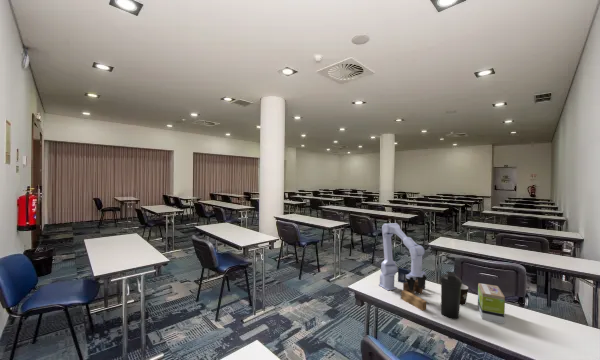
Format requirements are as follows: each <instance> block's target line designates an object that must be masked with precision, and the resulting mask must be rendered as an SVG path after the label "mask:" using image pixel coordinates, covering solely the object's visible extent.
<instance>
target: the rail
mask: <svg viewBox="0 0 600 360" xmlns="http://www.w3.org/2000/svg"><path fill="white" fill-rule="evenodd" d="M400 300H402V301H404V302H405V303H408V304H409V305H411V306H412V307H415V308H417V309H418V310H420V311H421V312H424V311H427V302H428V301H427V300H425V299H423V298H421V297H419V296H417V295H416V294H415V295H414V294H412V293H410V292H408V291H406V290H403V289H401V290H400Z"/></svg>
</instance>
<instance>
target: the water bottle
mask: <svg viewBox="0 0 600 360" xmlns="http://www.w3.org/2000/svg"><path fill="white" fill-rule="evenodd" d="M462 284H463V281H462V279H461V278H460V277H458V276H457V275H456V272H453V271H446V273H445V274H443V275H442V276H440V286H441V289H440V290H441V291H440V299H441V300H440V301H441V303H440V304H441V306H440V308H441V309H440V310H441V312H440V314H441V315H442V316H443V317H445V318H447V319H450V320H458V319H459V318H460V308H461V307H460V306H461V305H460V294H461V286H462Z"/></svg>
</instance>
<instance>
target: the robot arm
mask: <svg viewBox="0 0 600 360" xmlns="http://www.w3.org/2000/svg"><path fill="white" fill-rule="evenodd" d="M381 232H382V233H381V234H382V244H383V255H384V256H383V257H384V260H383V261H382V262H381V264H380V265H381V266H380V272H381V273H380V274H379V284H378V286H379V287H381V288H383V289H384V290H387V291H392V290H397V289H398V287H396V286H395V276H396V274H398V266H397V262H396V261H394V259H393V247H392V246H393V245H392V237H393V235H394V234H395V235H396V236H397V237H399V238H400V239H401V240H402V244H403V245H404V246H405V247H406V249H408V250H409V254H410V259H411V265H410V270H411V273H409V274H407V275H406V280H407V282H408V286H409V290H411V291H413V287H414V283H415V280H413V278H414V277H417V278H418V287H419V288H422V287H423V284H424V282H425V283H426V280H427V272H426V271H424V270H423V269H422V268H423V256H424V255H425V252H426V251H425V247H423V246H422V245H420V244H418V243H417V242H415V241H414V240H413V238H412V237H410V236H407V234H406V233H404V231H403V230H402V229H401V225H399V224H398V223H397V222H394V223H393V222H392V223H386V222H385V223H383V224H382V226H381Z"/></svg>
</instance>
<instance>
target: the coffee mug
mask: <svg viewBox="0 0 600 360" xmlns="http://www.w3.org/2000/svg"><path fill="white" fill-rule="evenodd" d="M468 292H469V286H467V285H466V284H464V283H462V286H461V294H460V306H465V305H466V303H467V297H468Z"/></svg>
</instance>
